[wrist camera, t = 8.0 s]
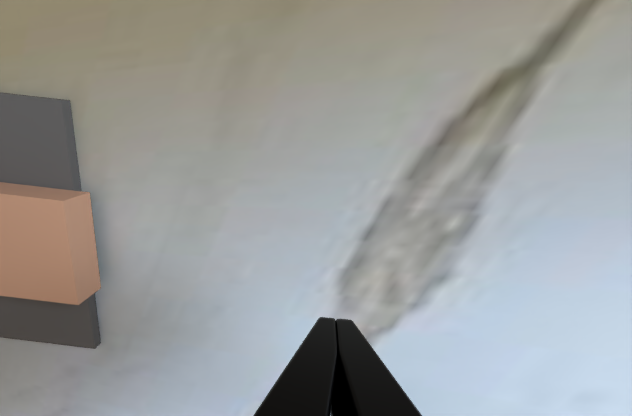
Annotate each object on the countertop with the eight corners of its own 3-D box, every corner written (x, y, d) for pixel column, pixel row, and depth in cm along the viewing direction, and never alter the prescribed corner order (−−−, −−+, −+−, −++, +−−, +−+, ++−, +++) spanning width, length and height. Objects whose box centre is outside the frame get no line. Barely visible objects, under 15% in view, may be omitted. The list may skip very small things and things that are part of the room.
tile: (78, 305, 19) (-59, 288, 19) (101, 287, 21) (-23, 272, 21) (62, 200, 17) (-91, 183, 17) (90, 192, 19) (-48, 176, 19)
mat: (100, 343, 24) (94, 348, 23) (-25, 327, 24) (-34, 332, 23) (69, 100, 18) (61, 100, 18) (-92, 81, 18) (-106, 80, 18)
